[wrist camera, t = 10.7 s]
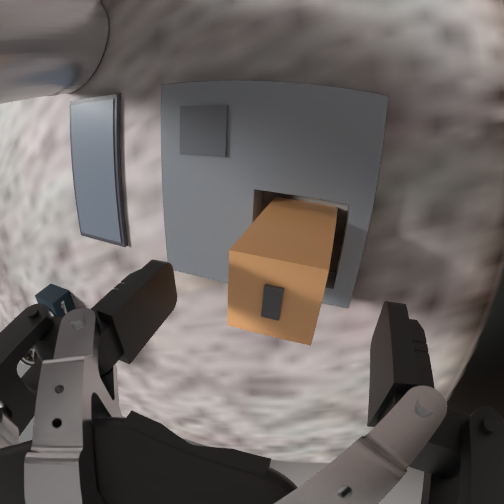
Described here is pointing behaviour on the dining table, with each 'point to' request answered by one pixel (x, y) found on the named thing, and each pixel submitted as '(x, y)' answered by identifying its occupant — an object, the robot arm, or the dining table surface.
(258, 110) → the outlet plate
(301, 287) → the block
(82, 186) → the phone
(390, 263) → the dining table surface
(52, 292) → the watch
